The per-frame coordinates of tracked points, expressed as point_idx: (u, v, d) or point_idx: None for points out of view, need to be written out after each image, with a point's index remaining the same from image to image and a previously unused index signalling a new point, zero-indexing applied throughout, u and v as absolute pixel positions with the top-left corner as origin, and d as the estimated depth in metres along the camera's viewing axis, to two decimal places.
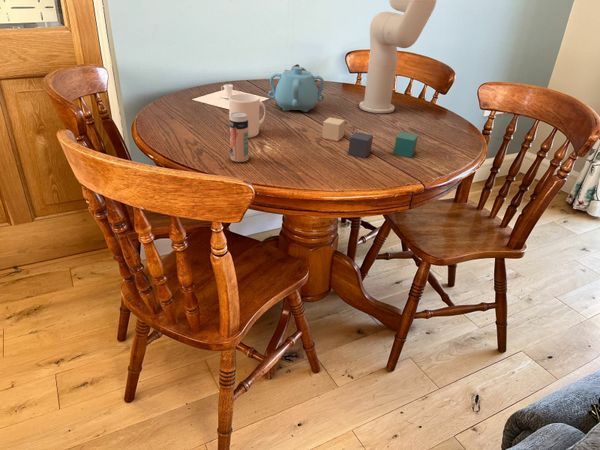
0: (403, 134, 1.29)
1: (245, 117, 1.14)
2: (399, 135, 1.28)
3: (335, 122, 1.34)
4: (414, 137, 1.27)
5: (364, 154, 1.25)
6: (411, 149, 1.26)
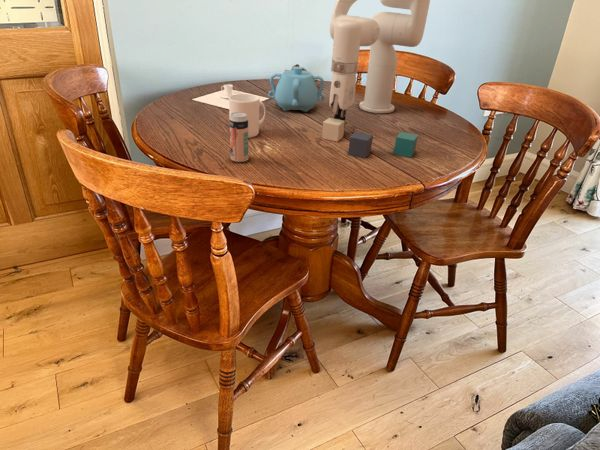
0: (403, 134, 1.29)
1: (245, 117, 1.14)
2: (399, 135, 1.28)
3: (334, 123, 1.34)
4: (414, 137, 1.27)
5: (364, 154, 1.25)
6: (411, 149, 1.26)
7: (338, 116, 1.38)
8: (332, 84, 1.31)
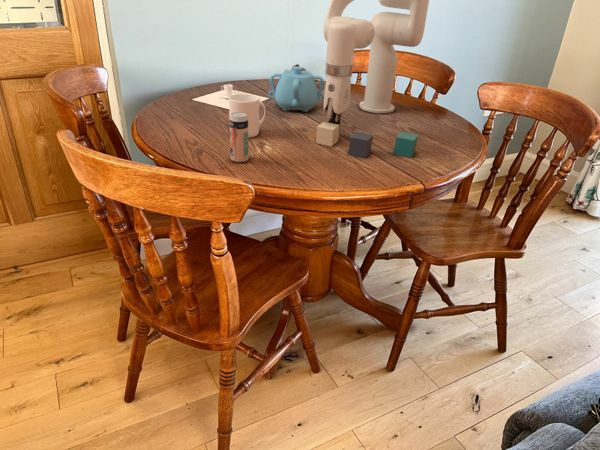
0: (403, 134, 1.29)
1: (245, 117, 1.14)
2: (399, 135, 1.28)
3: (329, 127, 1.30)
4: (414, 137, 1.27)
5: (364, 154, 1.25)
6: (411, 149, 1.26)
7: (333, 120, 1.34)
8: (326, 88, 1.27)
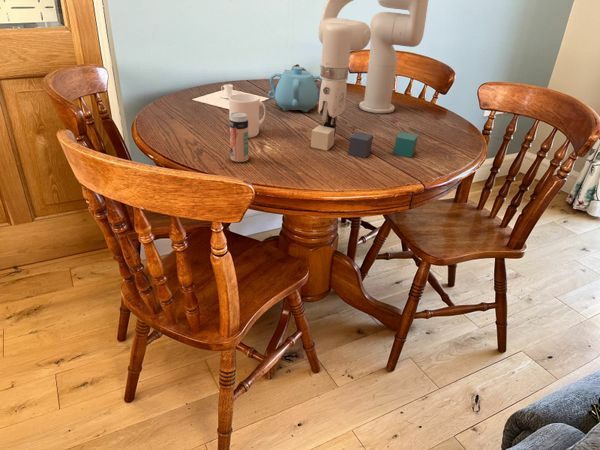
0: (403, 134, 1.29)
1: (245, 117, 1.14)
2: (399, 135, 1.28)
3: (324, 131, 1.27)
4: (414, 137, 1.27)
5: (364, 154, 1.25)
6: (411, 149, 1.26)
7: (328, 124, 1.31)
8: (321, 90, 1.24)
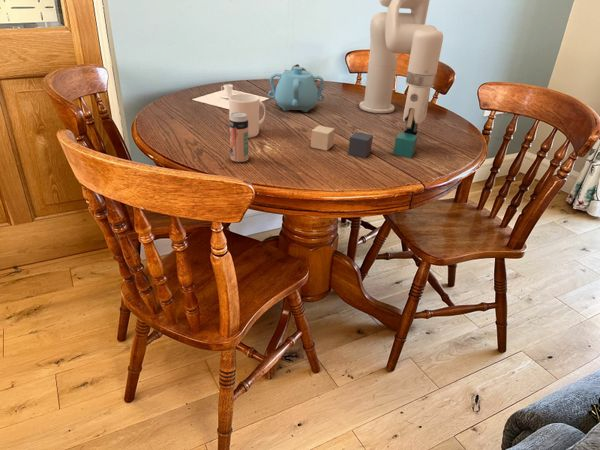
0: (402, 134, 1.28)
1: (245, 117, 1.14)
2: (399, 135, 1.27)
3: (323, 131, 1.27)
4: (414, 137, 1.27)
5: (364, 154, 1.25)
6: (411, 149, 1.26)
7: (410, 131, 1.29)
8: (408, 97, 1.23)
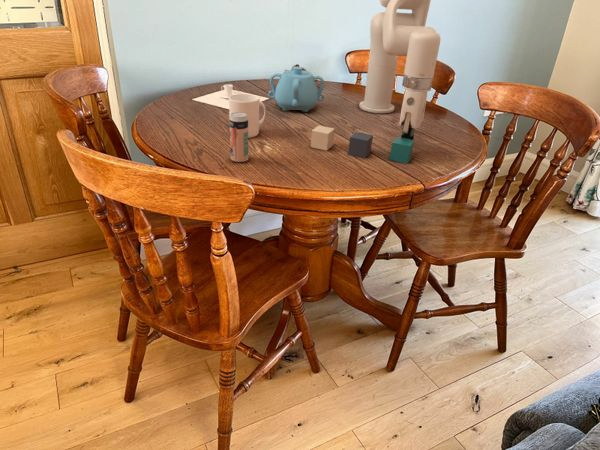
0: (399, 139, 1.25)
1: (245, 117, 1.14)
2: (395, 140, 1.24)
3: (323, 131, 1.27)
4: (410, 142, 1.23)
5: (364, 154, 1.25)
6: (407, 155, 1.23)
7: (407, 135, 1.26)
8: (404, 101, 1.19)
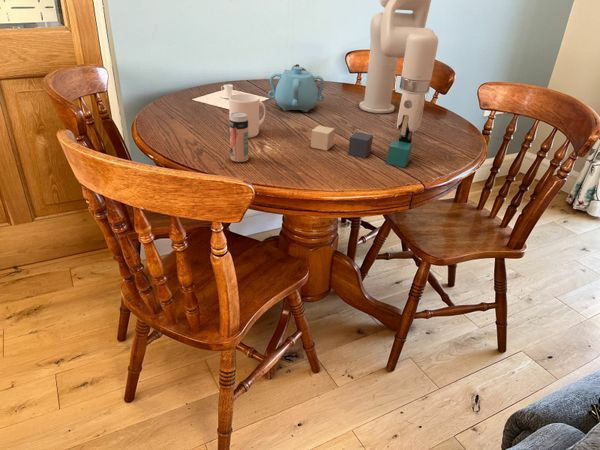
0: (396, 143, 1.23)
1: (245, 117, 1.14)
2: (392, 144, 1.22)
3: (323, 131, 1.27)
4: (408, 146, 1.21)
5: (364, 154, 1.25)
6: (405, 159, 1.20)
7: (405, 138, 1.24)
8: (402, 104, 1.17)
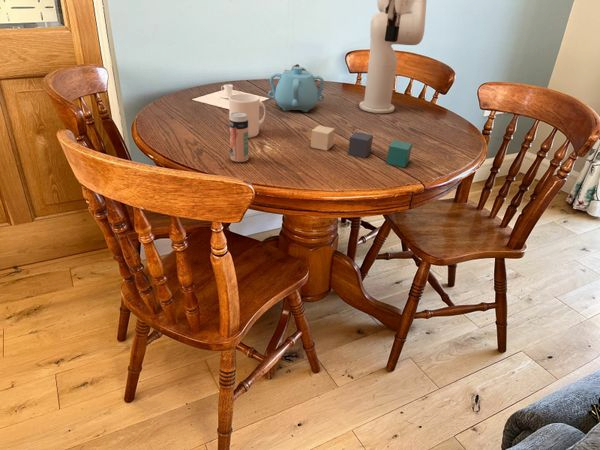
0: (396, 143, 1.22)
1: (245, 117, 1.14)
2: (392, 144, 1.22)
3: (323, 131, 1.27)
4: (408, 146, 1.21)
5: (364, 154, 1.25)
6: (405, 159, 1.20)
7: (392, 24, 1.25)
8: None
